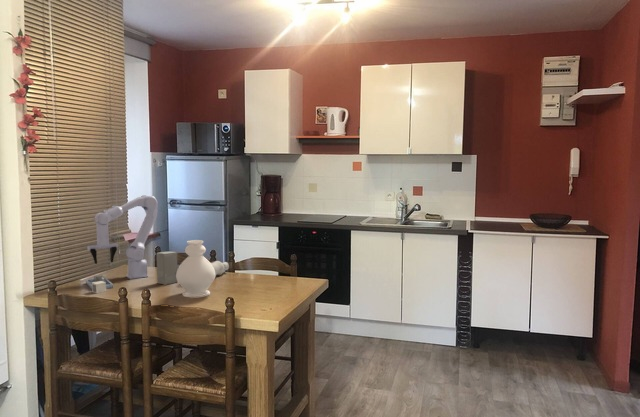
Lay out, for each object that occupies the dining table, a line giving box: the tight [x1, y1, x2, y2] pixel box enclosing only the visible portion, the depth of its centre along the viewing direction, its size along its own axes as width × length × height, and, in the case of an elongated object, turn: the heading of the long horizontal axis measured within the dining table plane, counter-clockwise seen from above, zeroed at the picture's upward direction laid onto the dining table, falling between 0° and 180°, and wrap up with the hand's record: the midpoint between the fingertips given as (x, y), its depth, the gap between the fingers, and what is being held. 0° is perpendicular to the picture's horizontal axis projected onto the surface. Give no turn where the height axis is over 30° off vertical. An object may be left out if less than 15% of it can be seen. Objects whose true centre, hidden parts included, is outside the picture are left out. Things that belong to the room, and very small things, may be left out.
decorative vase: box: [176, 239, 216, 299], centre depth 239 cm, size 18×18×25 cm
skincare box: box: [156, 250, 178, 286], centre depth 261 cm, size 8×7×16 cm
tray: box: [85, 277, 114, 290], centre depth 255 cm, size 17×9×2 cm, turn 35°
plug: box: [93, 274, 105, 282], centre depth 255 cm, size 12×4×4 cm, turn 34°
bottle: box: [210, 260, 230, 277], centre depth 272 cm, size 9×9×30 cm
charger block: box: [91, 281, 107, 294], centre depth 244 cm, size 5×4×4 cm
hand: (103, 262), depth 263 cm, fingers open, 7 cm apart
